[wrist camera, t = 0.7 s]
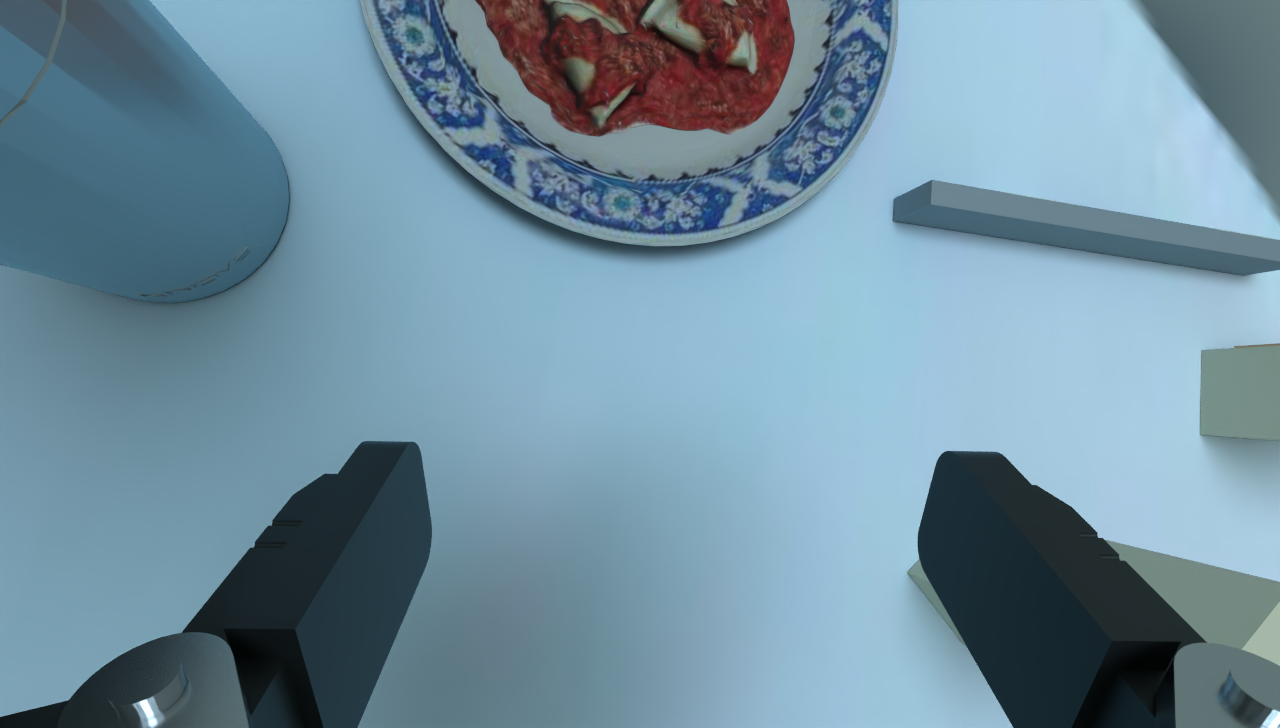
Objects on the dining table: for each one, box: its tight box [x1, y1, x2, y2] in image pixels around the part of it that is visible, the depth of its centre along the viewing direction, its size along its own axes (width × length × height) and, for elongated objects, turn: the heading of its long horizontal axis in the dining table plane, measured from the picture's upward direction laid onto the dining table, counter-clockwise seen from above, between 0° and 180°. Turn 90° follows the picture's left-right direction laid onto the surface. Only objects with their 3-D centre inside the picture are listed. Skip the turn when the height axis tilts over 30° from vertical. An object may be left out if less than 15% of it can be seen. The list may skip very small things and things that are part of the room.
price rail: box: [893, 180, 1280, 275], centre depth 34 cm, size 24×1×3 cm, turn 85°
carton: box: [907, 540, 1280, 666], centre depth 26 cm, size 5×5×14 cm
